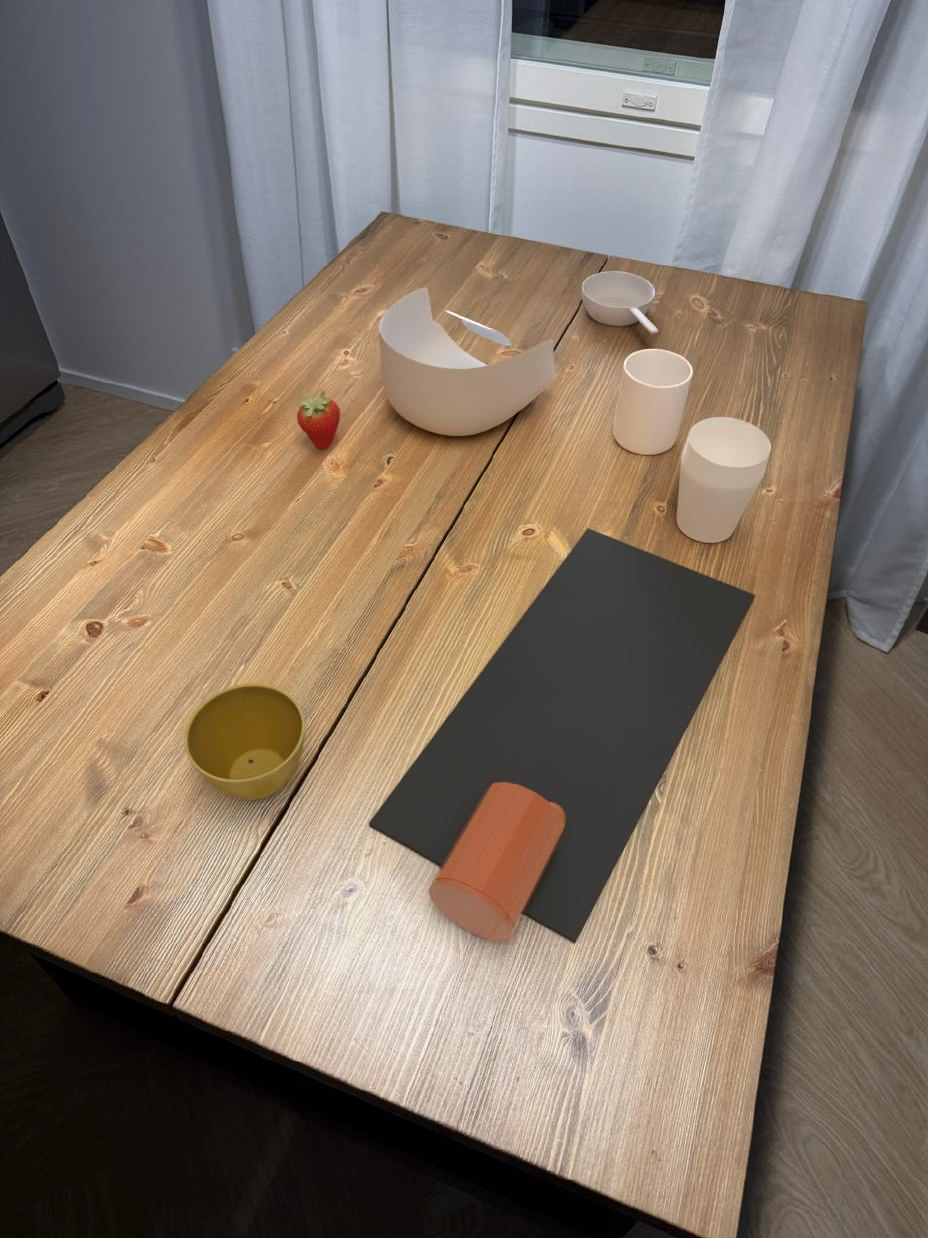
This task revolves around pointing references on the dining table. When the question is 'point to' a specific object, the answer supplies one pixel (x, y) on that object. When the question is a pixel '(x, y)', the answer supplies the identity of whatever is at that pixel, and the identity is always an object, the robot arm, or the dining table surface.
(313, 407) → the fruit
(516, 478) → the dining table surface
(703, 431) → the cup
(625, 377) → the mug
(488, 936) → the spoon cup
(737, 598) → the mat
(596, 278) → the small pan
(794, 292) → the dining table surface
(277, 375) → the dining table surface
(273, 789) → the flower pot
